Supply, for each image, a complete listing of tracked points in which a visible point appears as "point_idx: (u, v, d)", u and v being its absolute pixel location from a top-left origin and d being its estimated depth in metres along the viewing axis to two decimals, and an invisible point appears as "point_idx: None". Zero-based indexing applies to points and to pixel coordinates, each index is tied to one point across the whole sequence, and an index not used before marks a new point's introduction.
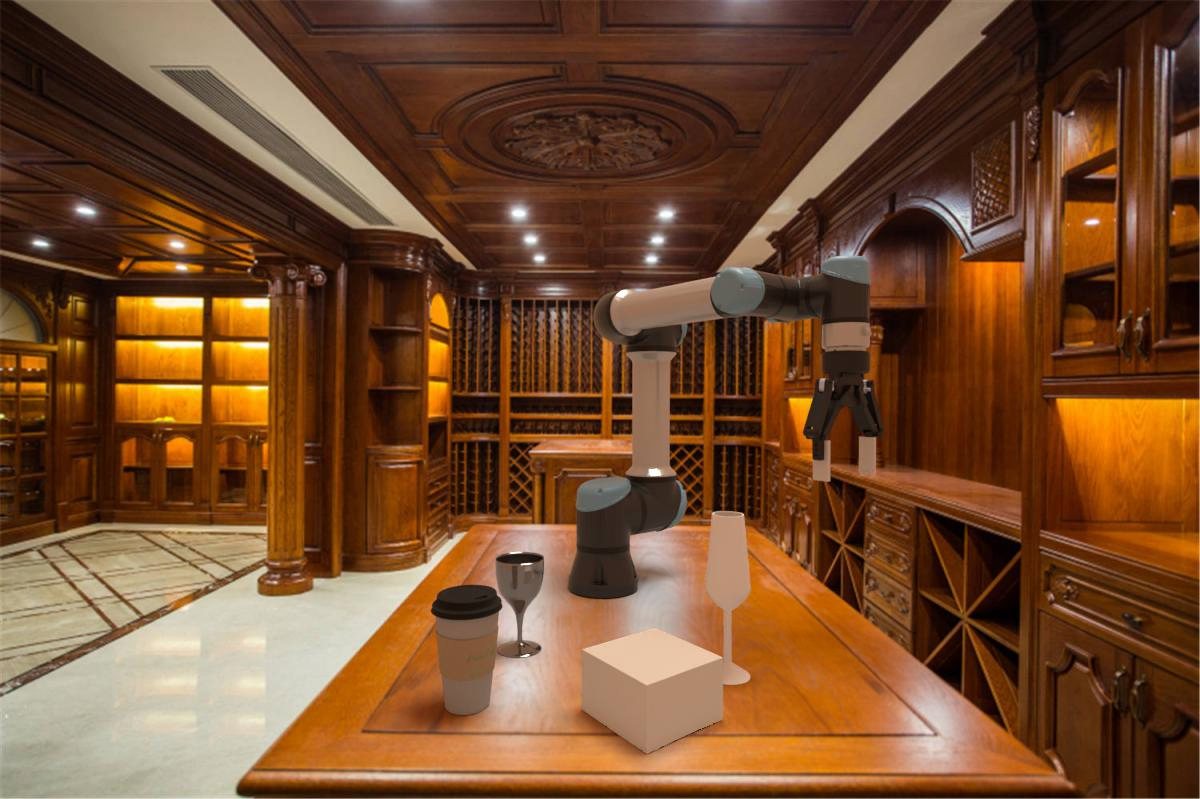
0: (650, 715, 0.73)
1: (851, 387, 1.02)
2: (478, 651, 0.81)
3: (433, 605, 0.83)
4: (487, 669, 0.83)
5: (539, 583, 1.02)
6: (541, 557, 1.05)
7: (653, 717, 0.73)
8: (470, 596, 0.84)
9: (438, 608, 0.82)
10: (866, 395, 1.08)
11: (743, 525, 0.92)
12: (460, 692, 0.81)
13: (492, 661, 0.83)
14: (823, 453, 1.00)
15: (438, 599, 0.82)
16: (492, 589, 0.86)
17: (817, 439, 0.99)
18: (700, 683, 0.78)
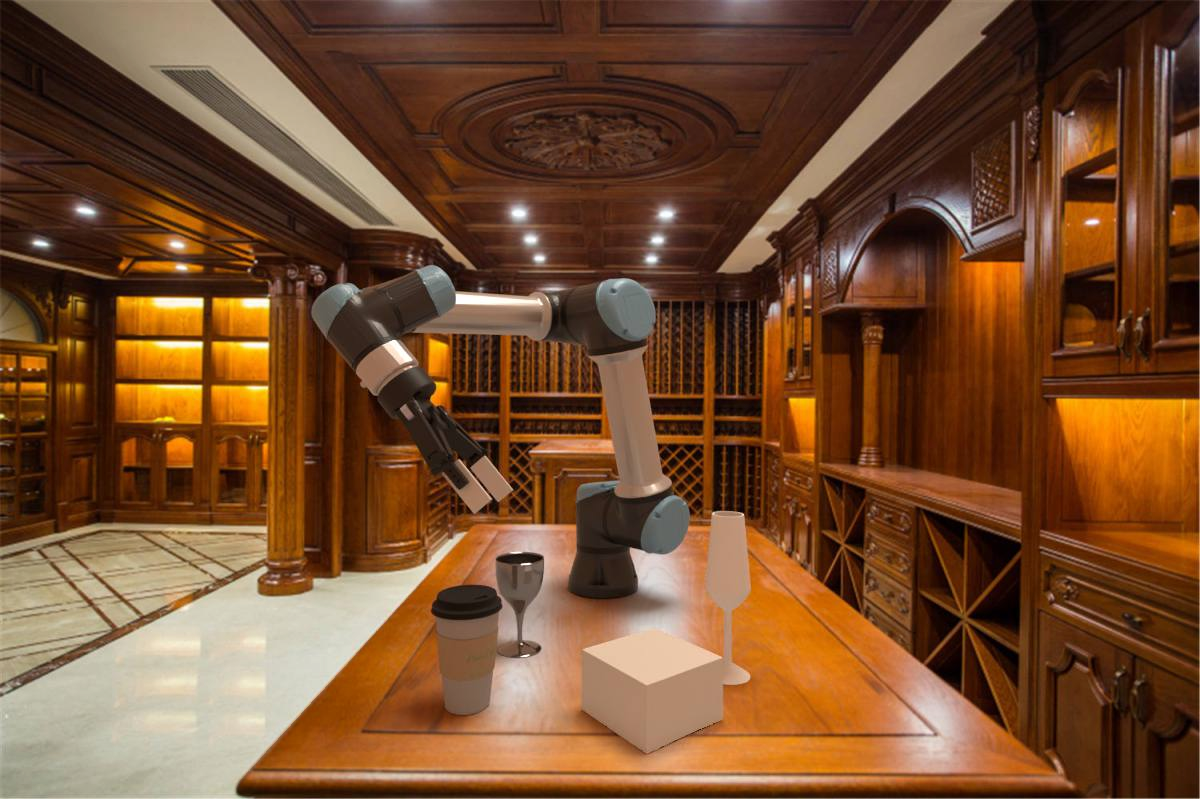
0: (650, 715, 0.73)
1: None
2: (478, 651, 0.81)
3: (433, 605, 0.83)
4: (487, 669, 0.83)
5: (539, 583, 1.02)
6: (541, 557, 1.05)
7: (653, 717, 0.73)
8: (470, 596, 0.84)
9: (438, 608, 0.82)
10: None
11: (743, 525, 0.92)
12: (460, 692, 0.81)
13: (492, 661, 0.83)
14: None
15: (438, 599, 0.82)
16: (492, 589, 0.86)
17: None
18: (700, 683, 0.78)
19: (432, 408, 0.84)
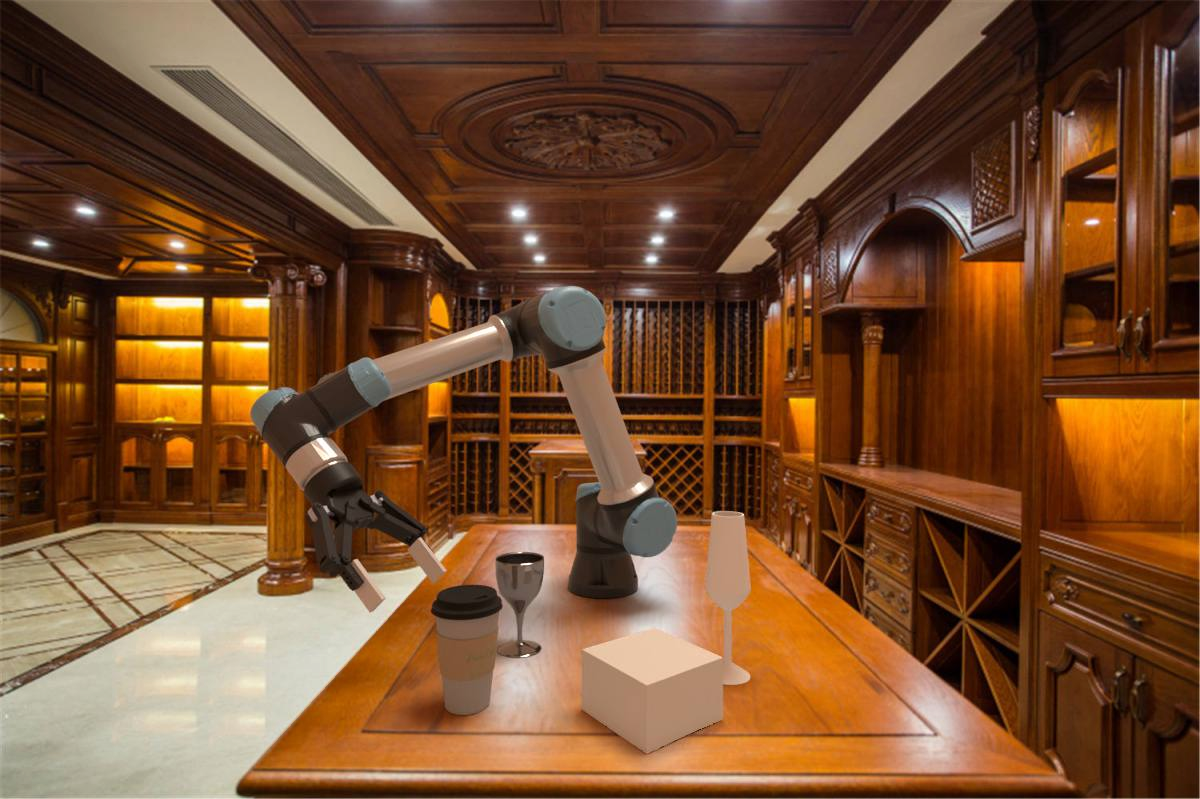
0: (650, 715, 0.73)
1: None
2: (478, 651, 0.81)
3: (433, 605, 0.83)
4: (487, 669, 0.83)
5: (539, 583, 1.02)
6: (541, 557, 1.05)
7: (653, 717, 0.73)
8: (470, 596, 0.84)
9: (438, 608, 0.82)
10: None
11: (743, 525, 0.92)
12: (460, 692, 0.81)
13: (492, 661, 0.83)
14: None
15: (438, 599, 0.82)
16: (492, 589, 0.86)
17: None
18: (700, 683, 0.78)
19: (347, 504, 0.88)
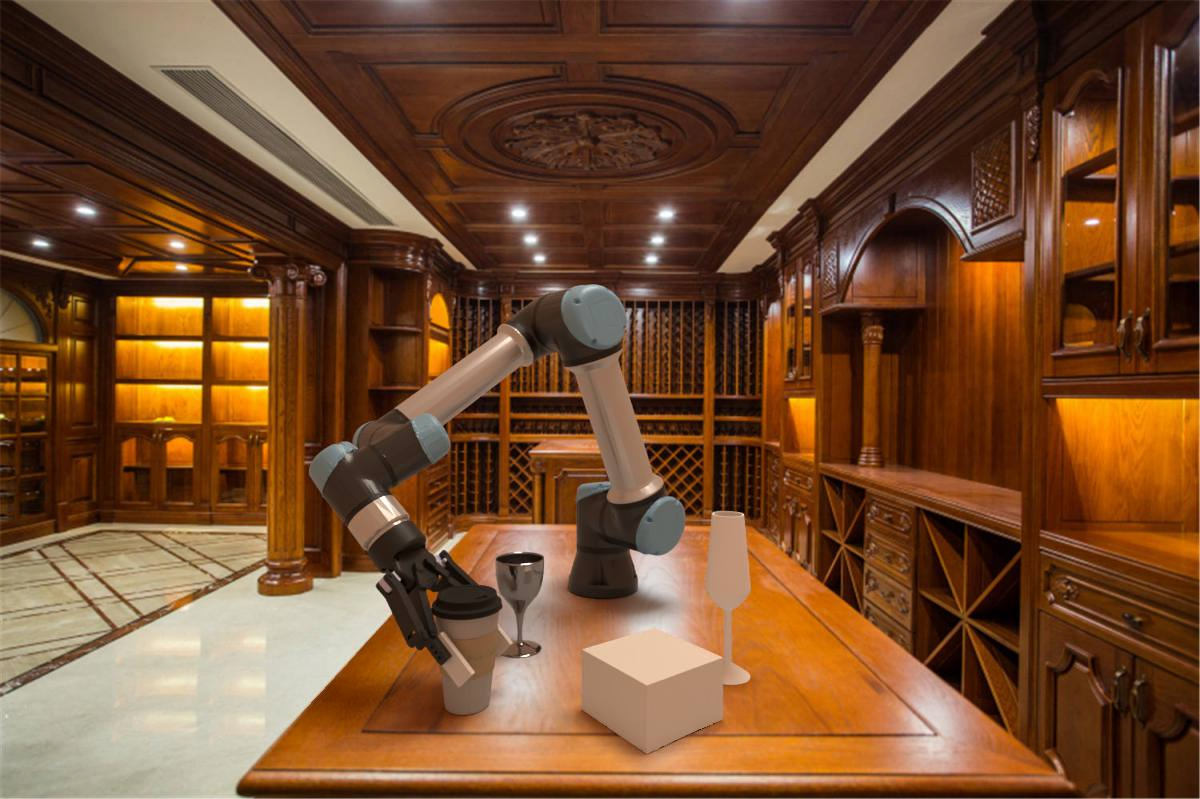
0: (650, 715, 0.73)
1: None
2: (478, 651, 0.81)
3: (433, 605, 0.83)
4: (487, 669, 0.83)
5: (539, 583, 1.02)
6: (541, 557, 1.05)
7: (653, 717, 0.73)
8: (470, 596, 0.84)
9: (438, 608, 0.82)
10: None
11: (743, 525, 0.92)
12: (460, 692, 0.81)
13: (492, 661, 0.83)
14: None
15: (438, 599, 0.82)
16: (492, 589, 0.86)
17: None
18: (700, 683, 0.78)
19: (415, 567, 0.85)
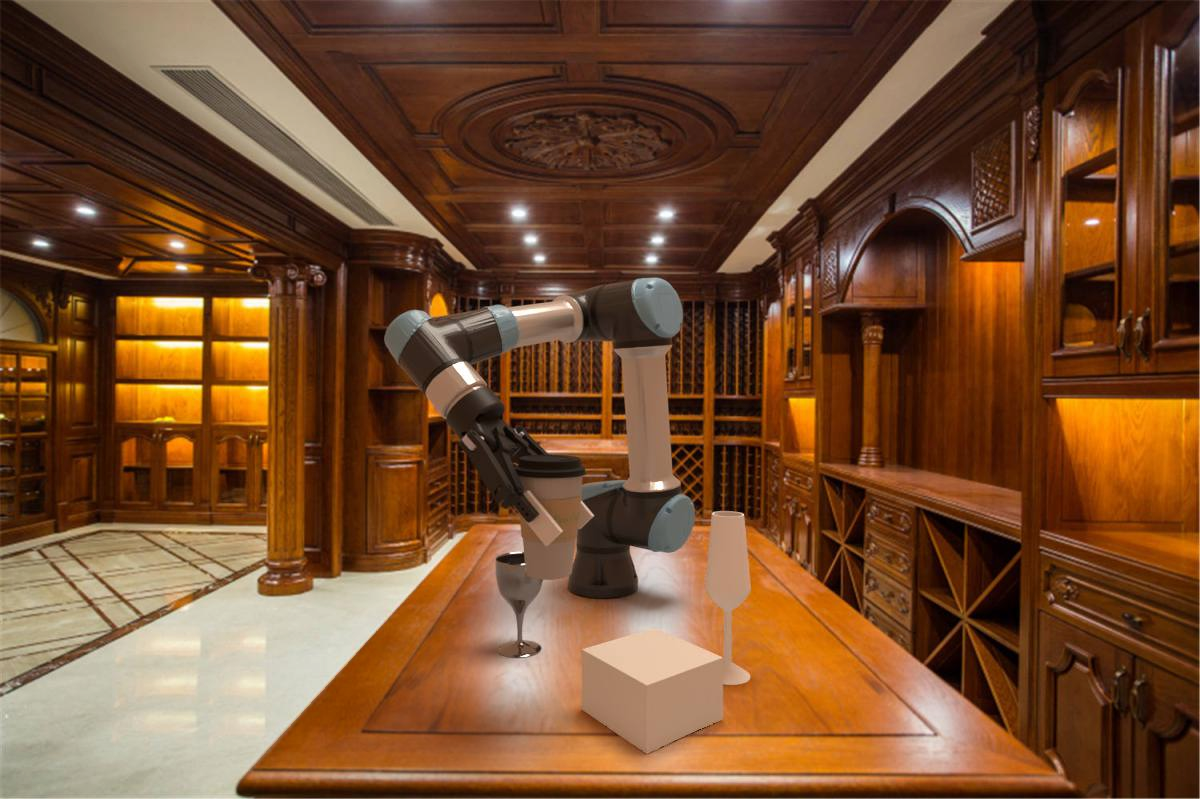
0: (650, 715, 0.73)
1: None
2: (563, 513, 0.78)
3: (516, 467, 0.80)
4: (571, 533, 0.79)
5: (539, 583, 1.02)
6: None
7: (653, 717, 0.73)
8: (554, 459, 0.80)
9: (522, 468, 0.79)
10: None
11: (743, 525, 0.92)
12: (544, 555, 0.78)
13: (576, 527, 0.80)
14: None
15: (522, 460, 0.79)
16: (574, 456, 0.83)
17: None
18: (700, 683, 0.78)
19: (496, 431, 0.82)
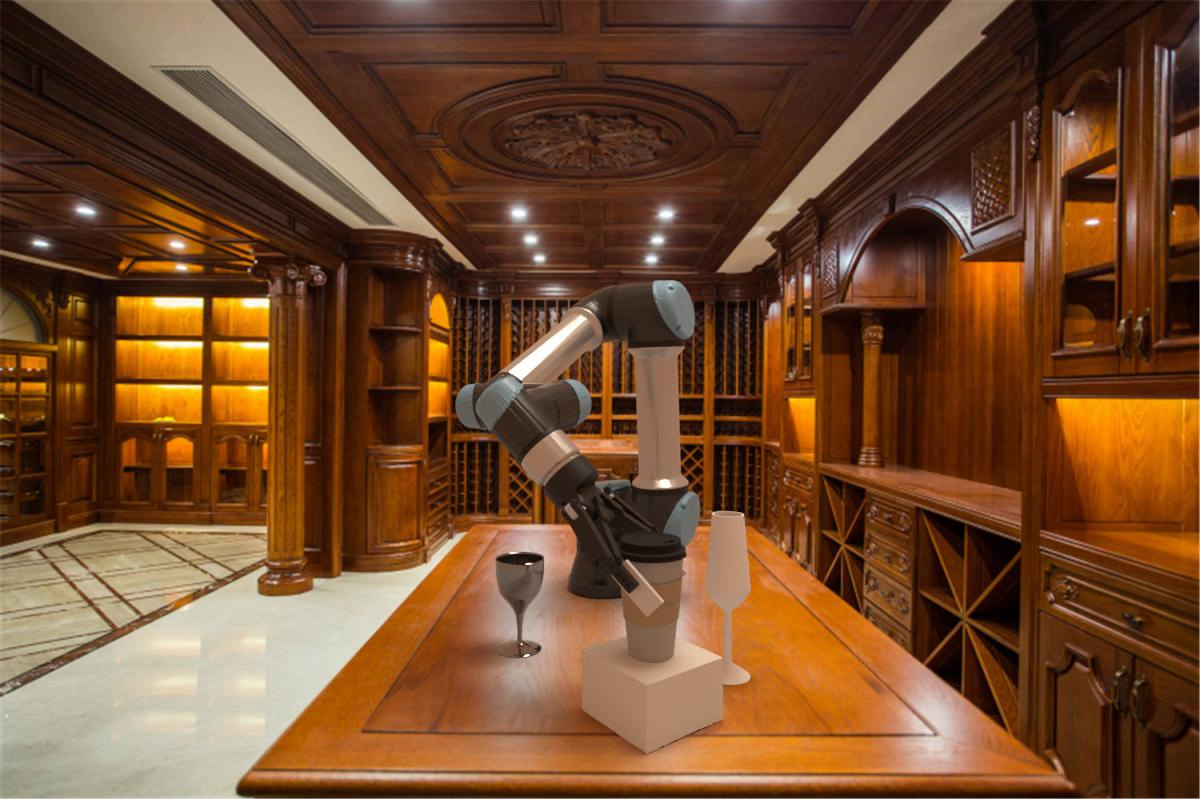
0: (650, 715, 0.73)
1: None
2: (669, 596, 0.78)
3: (619, 550, 0.80)
4: (675, 615, 0.80)
5: (539, 583, 1.02)
6: (541, 557, 1.05)
7: (653, 717, 0.73)
8: (655, 541, 0.81)
9: (627, 552, 0.79)
10: None
11: (743, 525, 0.92)
12: (651, 638, 0.78)
13: (679, 608, 0.81)
14: None
15: (625, 543, 0.80)
16: (672, 535, 0.83)
17: None
18: (700, 683, 0.78)
19: (596, 500, 0.82)
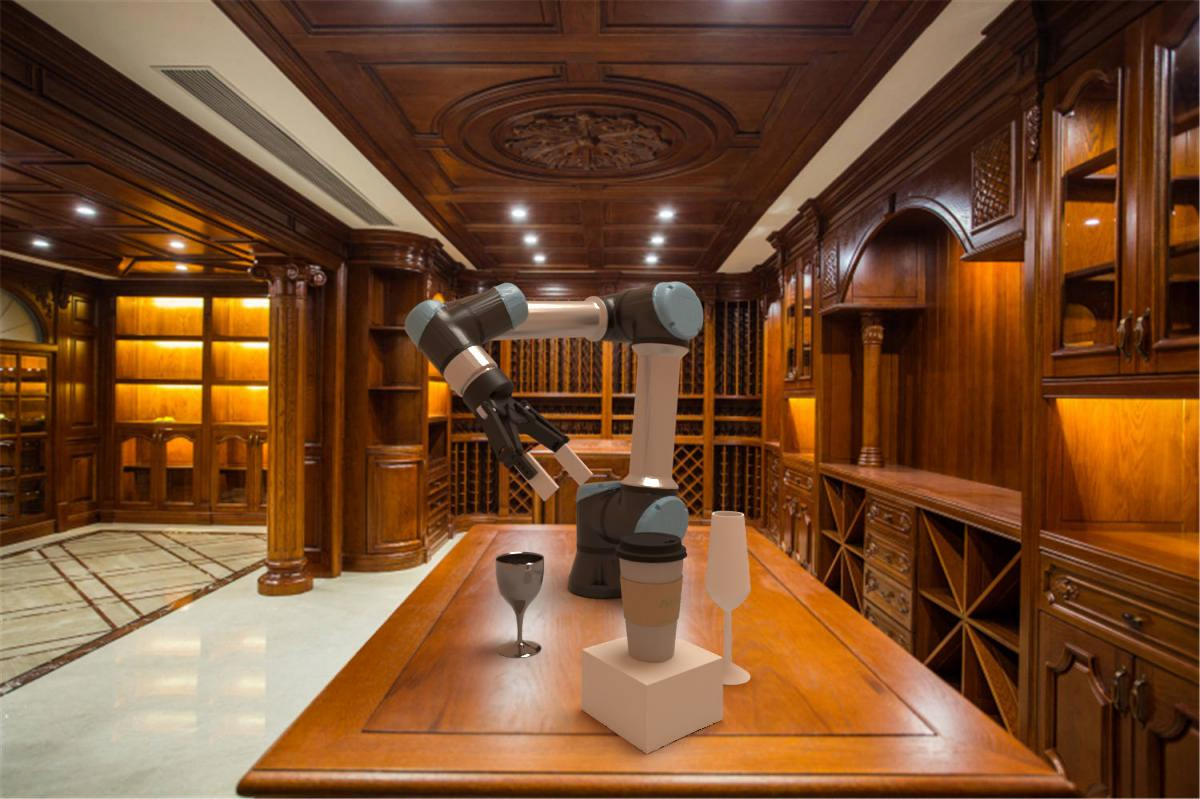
0: (650, 715, 0.73)
1: None
2: (670, 596, 0.78)
3: (619, 550, 0.80)
4: (676, 615, 0.80)
5: (539, 583, 1.02)
6: (541, 557, 1.05)
7: (653, 717, 0.73)
8: (656, 541, 0.81)
9: (627, 552, 0.79)
10: None
11: (743, 525, 0.92)
12: (651, 638, 0.78)
13: (679, 608, 0.81)
14: None
15: (626, 543, 0.80)
16: (673, 535, 0.83)
17: None
18: (700, 683, 0.78)
19: (507, 405, 0.92)
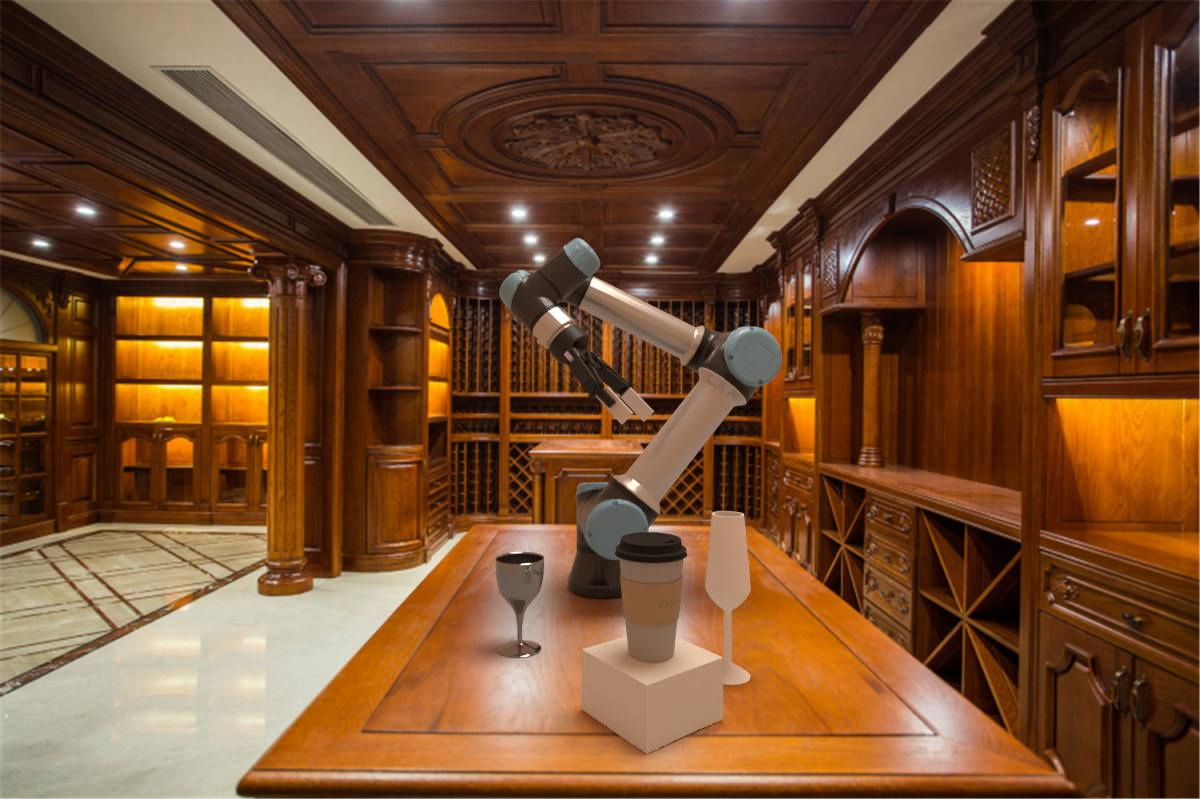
0: (650, 715, 0.73)
1: None
2: (670, 596, 0.78)
3: (619, 550, 0.80)
4: (676, 615, 0.80)
5: (539, 583, 1.02)
6: (541, 557, 1.05)
7: (653, 717, 0.73)
8: (656, 541, 0.81)
9: (627, 552, 0.79)
10: None
11: (743, 525, 0.92)
12: (651, 638, 0.78)
13: (679, 608, 0.81)
14: None
15: (626, 543, 0.80)
16: (673, 535, 0.83)
17: None
18: (700, 683, 0.78)
19: (587, 353, 1.14)
